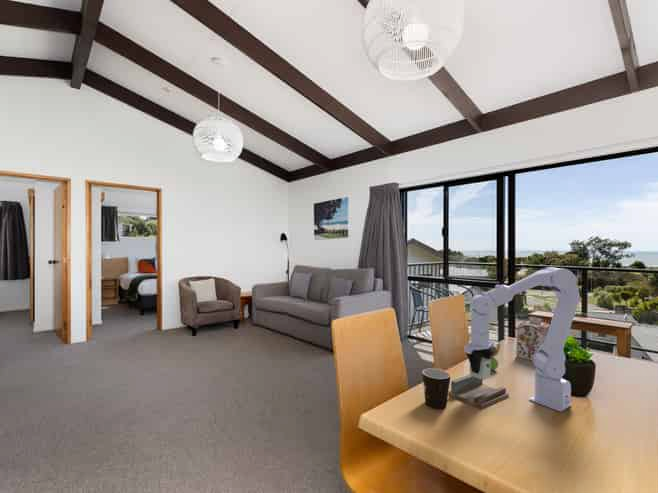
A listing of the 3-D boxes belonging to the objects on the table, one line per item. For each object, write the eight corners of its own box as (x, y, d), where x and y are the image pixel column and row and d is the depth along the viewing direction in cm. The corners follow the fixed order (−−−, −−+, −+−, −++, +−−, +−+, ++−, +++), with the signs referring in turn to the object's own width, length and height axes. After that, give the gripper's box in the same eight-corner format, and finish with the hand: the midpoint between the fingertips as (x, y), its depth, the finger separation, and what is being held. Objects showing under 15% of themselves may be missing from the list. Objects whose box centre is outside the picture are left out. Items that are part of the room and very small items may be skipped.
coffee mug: (425, 396, 115) (426, 366, 115) (452, 402, 110) (453, 371, 110) (415, 410, 105) (416, 378, 105) (444, 418, 100) (445, 384, 100)
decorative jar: (525, 352, 164) (526, 314, 164) (553, 358, 155) (554, 319, 155) (515, 357, 156) (516, 318, 156) (543, 364, 147) (544, 322, 147)
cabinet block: (491, 378, 114) (492, 360, 114) (485, 380, 112) (485, 362, 111) (476, 372, 118) (477, 355, 118) (469, 374, 116) (470, 357, 116)
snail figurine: (503, 372, 137) (503, 342, 137) (487, 372, 137) (487, 342, 137) (496, 367, 143) (497, 339, 142) (481, 367, 143) (481, 338, 143)
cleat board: (508, 396, 115) (509, 382, 115) (481, 409, 106) (481, 393, 106) (476, 384, 125) (476, 370, 125) (448, 394, 116) (448, 380, 116)
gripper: (481, 325, 123) (480, 363, 123) (456, 331, 115) (455, 371, 115) (500, 330, 117) (499, 369, 117) (475, 336, 109) (474, 378, 109)
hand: (479, 371), depth 115 cm, fingers closed on cabinet block, 4 cm apart
